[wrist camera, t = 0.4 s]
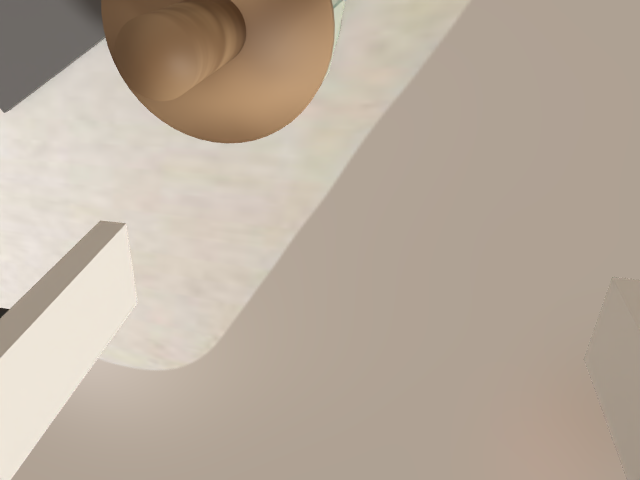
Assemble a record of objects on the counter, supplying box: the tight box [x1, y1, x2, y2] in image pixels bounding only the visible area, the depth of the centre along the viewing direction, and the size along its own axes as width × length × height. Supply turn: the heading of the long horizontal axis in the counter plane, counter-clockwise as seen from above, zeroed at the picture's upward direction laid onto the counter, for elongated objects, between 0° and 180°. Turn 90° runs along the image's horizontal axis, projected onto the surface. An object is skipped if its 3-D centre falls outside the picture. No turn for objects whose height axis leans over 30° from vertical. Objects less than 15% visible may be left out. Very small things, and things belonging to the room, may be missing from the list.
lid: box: [101, 0, 335, 143], centre depth 29 cm, size 13×13×9 cm
